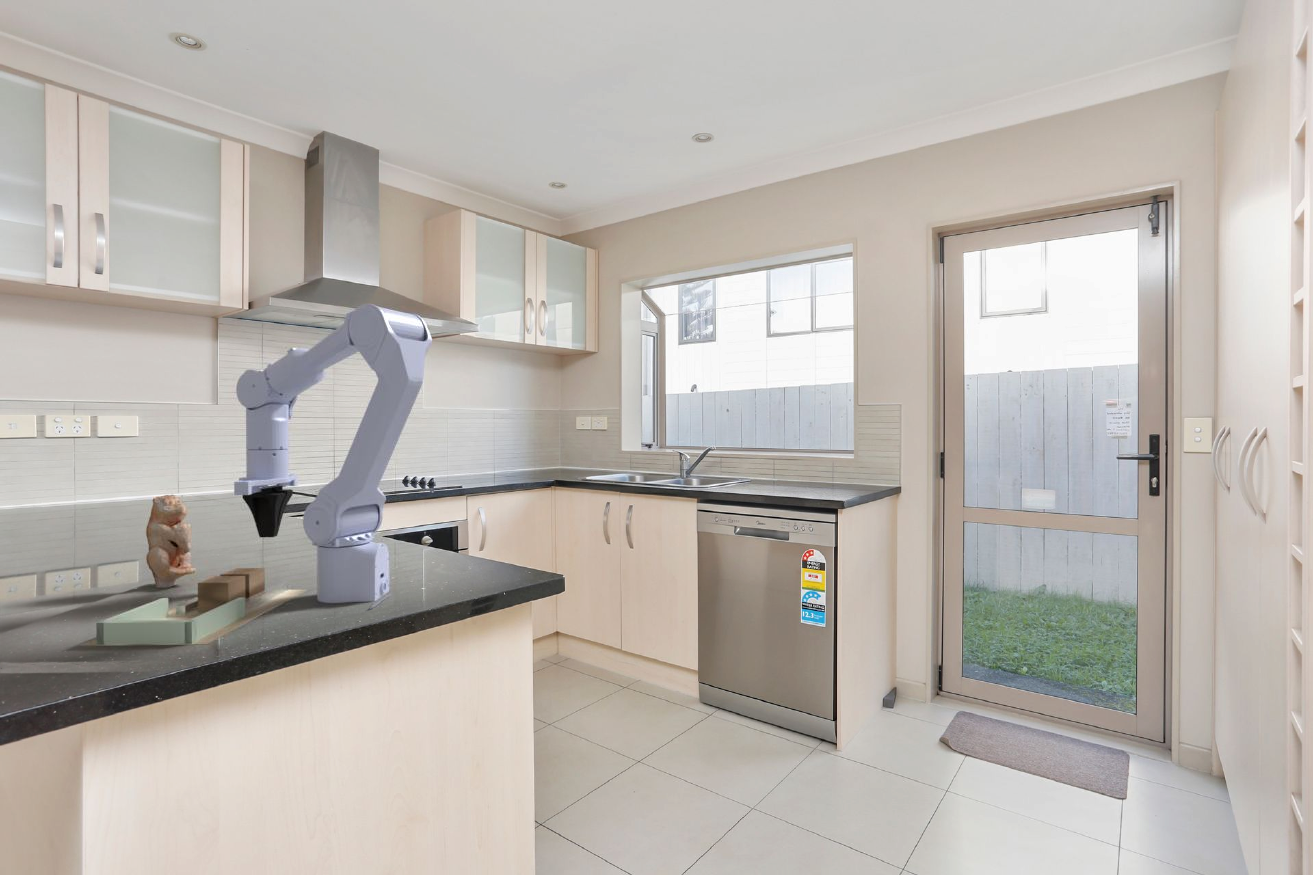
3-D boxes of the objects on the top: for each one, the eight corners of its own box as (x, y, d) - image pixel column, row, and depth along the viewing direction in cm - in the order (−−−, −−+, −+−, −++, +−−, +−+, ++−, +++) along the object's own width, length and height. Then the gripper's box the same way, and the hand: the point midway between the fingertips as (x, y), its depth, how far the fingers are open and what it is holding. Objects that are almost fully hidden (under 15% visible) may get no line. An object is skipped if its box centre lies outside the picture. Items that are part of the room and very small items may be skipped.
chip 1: (245, 603, 93) (245, 575, 93) (228, 612, 89) (228, 582, 89) (216, 604, 93) (215, 575, 93) (197, 612, 89) (197, 582, 89)
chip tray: (245, 616, 87) (245, 597, 87) (191, 643, 76) (191, 621, 76) (162, 617, 87) (161, 598, 87) (96, 644, 76) (96, 622, 76)
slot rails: (290, 589, 101) (290, 581, 101) (241, 614, 88) (240, 605, 88) (233, 589, 101) (233, 582, 101) (176, 614, 88) (175, 605, 88)
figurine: (173, 596, 100) (172, 498, 100) (132, 594, 102) (131, 497, 102) (208, 587, 106) (208, 494, 106) (169, 584, 108) (168, 493, 108)
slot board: (308, 595, 101) (308, 589, 101) (206, 652, 76) (206, 643, 76) (214, 596, 101) (214, 590, 101) (79, 653, 76) (79, 645, 76)
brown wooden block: (264, 594, 98) (264, 567, 98) (249, 602, 94) (249, 574, 94) (237, 595, 98) (236, 568, 98) (220, 602, 94) (220, 574, 94)
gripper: (266, 447, 110) (267, 529, 110) (212, 451, 95) (212, 545, 95) (310, 447, 110) (310, 529, 110) (262, 451, 95) (263, 545, 96)
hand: (268, 536), depth 103 cm, fingers closed
